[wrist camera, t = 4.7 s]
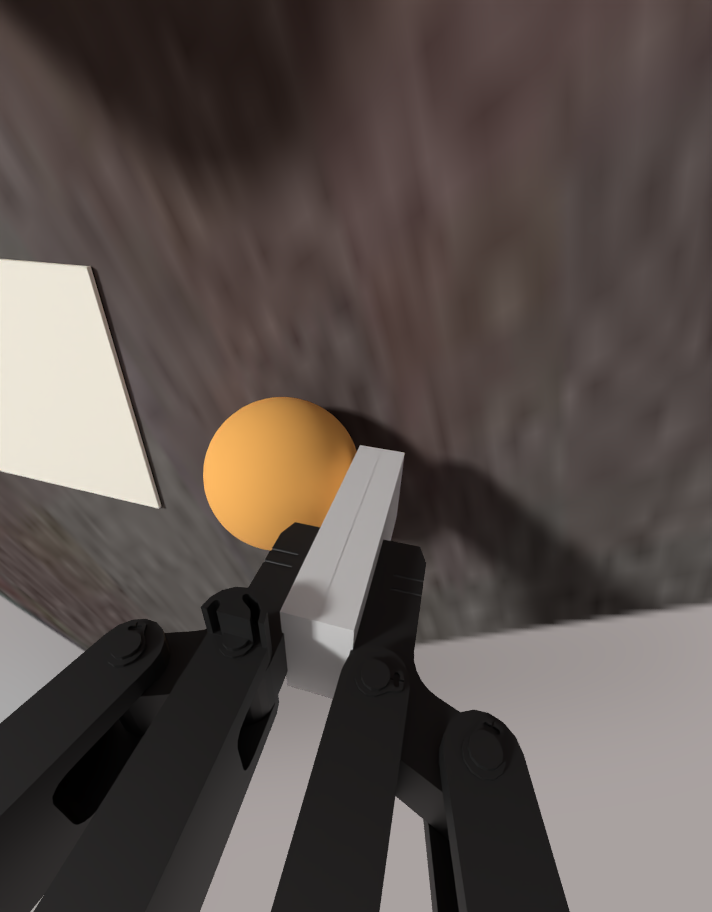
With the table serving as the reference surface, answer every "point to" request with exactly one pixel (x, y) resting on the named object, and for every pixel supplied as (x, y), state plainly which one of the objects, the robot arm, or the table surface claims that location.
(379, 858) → the robot arm
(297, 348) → the table surface
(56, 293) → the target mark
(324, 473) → the ball
